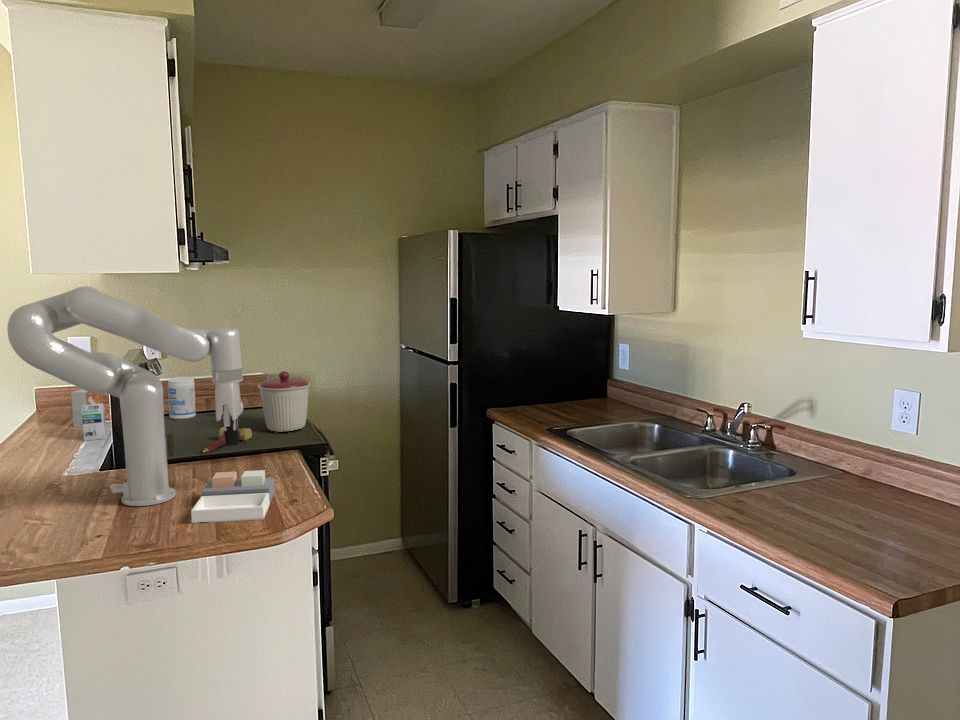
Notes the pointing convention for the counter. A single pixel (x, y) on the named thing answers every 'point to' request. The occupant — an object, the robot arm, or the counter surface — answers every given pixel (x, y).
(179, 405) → the supplement tub
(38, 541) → the counter surface
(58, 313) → the robot arm
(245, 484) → the tile
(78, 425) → the small box
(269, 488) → the plate
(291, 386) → the canister
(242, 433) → the gavel
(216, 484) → the tile
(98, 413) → the light bulb box
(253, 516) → the tray
